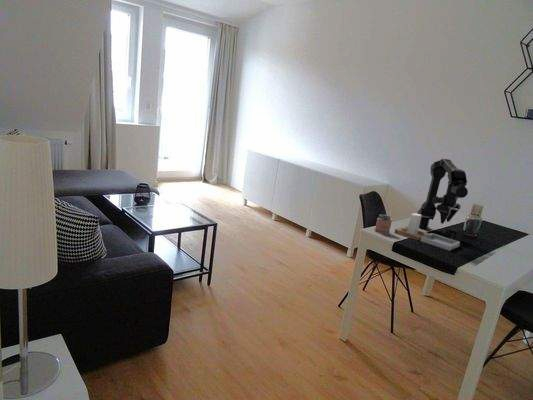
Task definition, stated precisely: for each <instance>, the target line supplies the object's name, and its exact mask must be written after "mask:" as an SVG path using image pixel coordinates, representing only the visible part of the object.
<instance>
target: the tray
mask: <svg viewBox="0 0 533 400" xmlns="http://www.w3.org/2000/svg"><path fill="white" fill-rule="evenodd" d="M420 243H423V244H426V245H429V246H432V247H435V248H438V249H441V250H444V251H447V252H450V251H452V250H455V249H457V248H459V247H460V246H461V244H460V243H461V241H455V240H452V239H449V238H447V237H445V236H442V235H439V234H436V233H432V232H431V233H429V234H428V235H425V236H423V237H421V240H420Z"/></svg>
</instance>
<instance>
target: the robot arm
mask: <svg viewBox="0 0 533 400" xmlns="http://www.w3.org/2000/svg"><path fill="white" fill-rule="evenodd" d="M446 173H447V180H448V182H447V188H446V192H445V194H443V196H440V197H439V196H438V195H437V194H438V191H439V187H440V184H441V180H442V179H443V178H444V177H445V176H446ZM430 175H431V180H430V185H429V187H428V188H429V189H428V190H427V191H428V192H427V195H426V199H425V202H423V203H422V204H421V205H420V206H421V207H420V208H419V209H418V211H417V212H416V213H417V214H421V215H422V217H421V221H420V225H419V228H420V229H423V230H428V229H430V226H429V225H430V224H429V223H430V220H432V221H433V220H434V219H435V217H436V213H437V212H439V214H440V215H439V217H440V223H441V224H444V223H445V222H448V223H450V221H451V220H453V219H452V218H453V217H454V216H455V215H456V214H457V213H458V212H459V210H461V207H462V206H461V204H460V203H457V202H458V199H464V198H465V197H467V195H468V193H469V192H468V191H469V190H468V188H467V187H466V186H467V183H468V179H467V174H466V171H465V170H463V169H460V168H458V167H457V166H456V165H455V164H454V163H453V161H452V160H451V159H448V158H440V159H439V160H437V161H434V162H433V163H432V164H431V165H430ZM436 204H438V205H436ZM436 211H437V212H436Z"/></svg>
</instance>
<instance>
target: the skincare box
mask: <svg viewBox="0 0 533 400" xmlns="http://www.w3.org/2000/svg"><path fill="white" fill-rule="evenodd" d="M421 217H422V215H421V214H417V212H416V213H411V214H410V218H409V221H408V226H407V227H408V229H407V231H406V232H408V233H411V234H414V235H417V236H418V234H417V232H418V230H419V225H420V221H421Z"/></svg>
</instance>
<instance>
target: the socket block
mask: <svg viewBox="0 0 533 400" xmlns="http://www.w3.org/2000/svg"><path fill="white" fill-rule="evenodd" d="M407 229H408V226H402V227H398V228H396V229H395V228H394V234H398V235H400V236H404V237H405V238H409V239H413V240H414V241H419V240H421V237H423V236H425V235H428V234H430V233H429V232H425V231H422V230H419V229H418V232H417V235H414V234H411V233H408V232H407ZM418 234H419V235H418Z"/></svg>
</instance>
